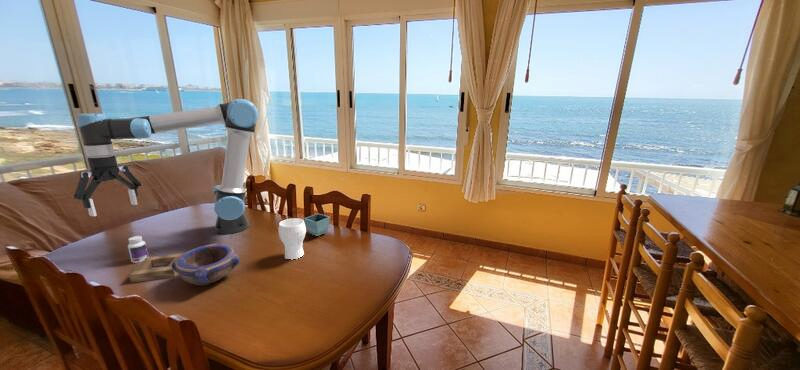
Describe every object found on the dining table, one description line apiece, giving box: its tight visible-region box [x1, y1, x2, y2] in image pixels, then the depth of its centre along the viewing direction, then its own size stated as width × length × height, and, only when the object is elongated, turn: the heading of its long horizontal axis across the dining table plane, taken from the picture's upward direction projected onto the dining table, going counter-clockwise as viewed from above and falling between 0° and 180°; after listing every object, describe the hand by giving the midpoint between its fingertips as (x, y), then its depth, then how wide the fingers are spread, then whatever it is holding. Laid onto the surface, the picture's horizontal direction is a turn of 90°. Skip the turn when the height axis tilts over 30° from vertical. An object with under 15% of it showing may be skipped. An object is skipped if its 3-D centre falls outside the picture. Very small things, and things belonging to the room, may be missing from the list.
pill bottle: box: [127, 235, 149, 264], centre depth 119 cm, size 5×5×10 cm
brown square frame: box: [128, 252, 186, 284], centre depth 112 cm, size 13×13×3 cm
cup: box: [277, 217, 307, 261], centre depth 123 cm, size 11×11×15 cm
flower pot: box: [303, 213, 331, 237], centre depth 145 cm, size 9×9×9 cm
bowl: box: [172, 243, 241, 286], centre depth 107 cm, size 18×18×10 cm
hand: (115, 209), depth 116 cm, fingers open, 13 cm apart
